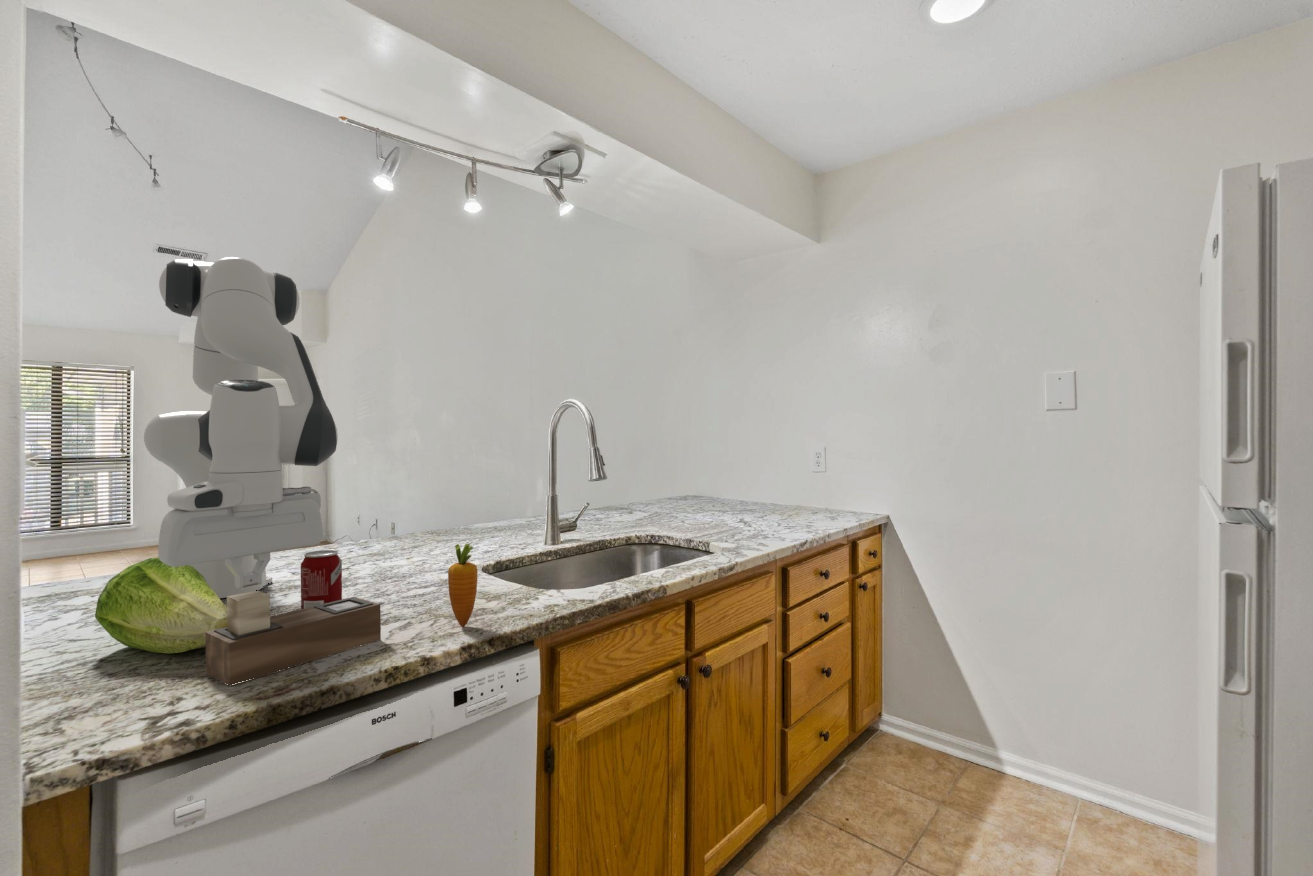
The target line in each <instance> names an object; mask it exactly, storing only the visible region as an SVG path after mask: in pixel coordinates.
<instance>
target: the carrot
mask: <svg viewBox="0 0 1313 876" xmlns="http://www.w3.org/2000/svg"><path fill="white" fill-rule="evenodd" d="M454 548H455V553H456V554H455V555H456V558H457V560H458V562H455V563H454V564H452V565H451V566H449V567H448V569H447V570H448V571H447V576H448V577H447V578H448V593H449V596H448V597H449V599H450V604H451V609H452V611H453V615H454V616H455V619H456V620H457V622H458V625H460V626H461V627H462V628H464V627H466V625H467V624H468V623H469V620H470V618H471V616H472V614H473V611H474V607H475V602H476V597H477V590H478V589H477V588H478V567H477V565H476V564H475V563H473V562H471V561H468V560H470V558H471V557H472V555H471V554H469V553H470V552H471V551H472V550H473V549H474V546H473V545H471V546H470V543H465V544H464V547H463V549H461V546H460V544H458V543H457V544H455V545H454Z"/></svg>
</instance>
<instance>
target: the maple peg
mask: <svg viewBox="0 0 1313 876" xmlns="http://www.w3.org/2000/svg"><path fill="white" fill-rule="evenodd" d="M226 606H227V631H228V632H230V633H233V634H235V635H237V636H239V635H243V634H247V633H251V632H255V631H259V630H263V629H267V628H270V617H271V595H270V593H266V592H263V591H260V590H257V591H252V592H247V593H242V594H237V595H232V596H227V597H226Z"/></svg>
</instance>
